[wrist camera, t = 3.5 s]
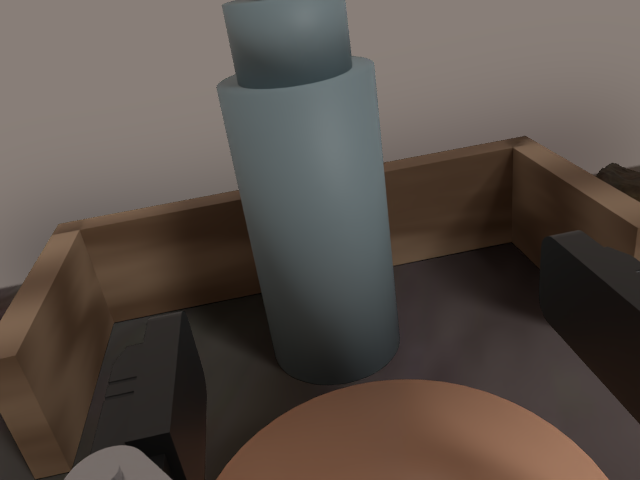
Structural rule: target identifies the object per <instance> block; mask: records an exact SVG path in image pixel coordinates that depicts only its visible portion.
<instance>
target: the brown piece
mask: <svg viewBox="0 0 640 480" xmlns="http://www.w3.org/2000/svg"><path fill="white" fill-rule="evenodd" d="M596 177H597V178H599V179H600V180H602V181H604V182H606V183H607V184H609V185H611V186H613V187H614V188H616V189H618V190H619V191H621V192H623V193H625V194H626V195H628V196H630V197H631V198H633V199H635V200H637V201H638V202H640V173H639V172H635V171H632V170H629V169H626V168H625V167H621V166H619V165H618V164H616V163H615V164H614V163H611V164H609V165H608V166H606V167H605V168H602V169H601V170H600V171H599V173H598V174H597V176H596Z"/></svg>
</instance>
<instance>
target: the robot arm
mask: <svg viewBox="0 0 640 480" xmlns="http://www.w3.org/2000/svg"><path fill="white" fill-rule="evenodd" d="M539 301H540V306H541V309H542V312H543V315H544V317H545V319H546V320H547V322H548V323H549V324H550V325H551V326H552V327H553V329H554V330H555V331H556V332H557V333H558V334H559V335H560V336H561V337H562V338H563V340H564V341H565V342H566V343H567V344H568V345H569V346H570V347H571V348H572V350H573V351H574V352H575V353H576V354H577V355H578V356H579V357H580V358H581V359H582V361H583V362H584V363H585V364H586V365H587V366H588V367H589V368H590V369H591V371H592V372H593V373H594V374H595V375H596V376H597V377H598V378H599V379H600V381H601V382H602V383H603V384H604V385H605V386H606V387H607V388H608V389H609V390H610V392H611V393H612V394H613V395H614V396H615V397H616V398H617V399H618V400H619V402H620V403H621V404H622V405H623V406H624V407H625V408H626V409H627V410H628V411H629V413H630V414H631V415H632V416H633V417H634V418H635V419H636V420H637V421H638V423H639V424H640V261H638V260H637V259H636V258H634V257H633V256H632V255H629V254H626V253H624V252H621V251H618V250H616V249H613V248H611V247H608V246H607V247H603V246H602V245H600V244H599V243H598V242H596V241H595V240H594V239H592V238H591V237H590V236H588V235H587V234H586V233H584V232H583V231H580V230H576V231H571V232H566V233H561V234H557V235H552V236H547V237H545V238H544V239H543V241H542V244H541V259H540V283H539ZM206 401H207V394H206V383H205V377H204V372H203V368H202V365H201V361H200V358H199V355H198V351H197V348H196V345H195V341H194V338H193V335H192V331H191V328H190V325H189V321H188V318H187V316H186V313H185V312H184V311H180V312H175V313H170V314H165V315H160V316H156V317H151V318H148V321H147V326H146V331H145V336H144V342H143V343H140V344H136V345H131V346H127V347H126V348H125V350H124V351H123V352H122V353H121V355H120V356H119V357H118V359H117V360H116V361H115V362H114V364H113V367H112V371H111V374H110V378H109V386H107V390H106V394H105V401H104V402H103V406H102V410H101V414H100V418H99V422H98V426H97V430H96V434H95V437H94V441H93V445H92V449H91V453H90V455H89V456H88V457H86V458H84V459H83V460H82V461H81V462H79V463H78V464H77V465H76V466H75V467H74V468H73V469H72V470H71V471H70V472H69V473H68V475H67V476H66V478H65V479H64V480H205V444H206Z"/></svg>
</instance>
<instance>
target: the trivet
mask: <svg viewBox="0 0 640 480" xmlns="http://www.w3.org/2000/svg"><path fill="white" fill-rule="evenodd" d="M216 480H609V479H608V478H607V477H606V476H605V474H604V473H603V472H602V471H601V470H600V468H599V467H598V466H597V465H596V464H595V463H594V461H593V460H592V459H591V458H590V457H589V456H588V455H587V454H586V453H585V452H584V451H583V450H582V449H581V448H580V447H578V446H577V445H576V444H575V443H574V442H573V441H572V440H571V439H570V438H568V437H567V436H566V435H564V434H563V433H562V432H561V431H559V430H558V429H557V428H555V427H554V426H553V425H551V424H550V423H548V422H547V421H545V420H543V419H542V418H540V417H539V416H537V415H535V414H534V413H532V412H531V411H529V410H527V409H525V408H523V407H521V406H519V405H517V404H515V403H513V402H511V401H508V400H506V399H503V398H501V397H498V396H495V395H493V394H490V393H488V392H485V391H481V390H477V389H474V388H470V387H467V386H463V385H457V384H452V383H447V382H441V381H430V380H416V379H397V380H384V381H375V382H369V383H363V384H357V385H353V386H349V387H345V388H342V389H338V390H334V391H332V392H329V393H326V394H323V395H321V396H318V397H315V398H313V399H311V400H309V401H307V402H305V403H303V404H300V405H298V406H296V407H294V408H293V409H291V410H289V411H288V412H286V413H284V414H283V415H281V416H279V417H278V418H276V419H275V420H274V421H272V422H271V423H270V424H268V425H267V426H266V427H264V428H263V429H262V430H260V431H259V432H258V433H257V434H256V435H254V436H253V437H252V438H251V439H250V440H249V441H248V442H247V443H246V444H245V445H244V446H243V447H242V448H241V449H240V450H239V451H238V452H237V453H236V454H235V456H234V457H233V458H232V459H231V460H230V461H229V462H228V464H227V465H226V466H225V468H224V469H223V471H222V472H221V473H220V475H219V476H218V478H217V479H216Z"/></svg>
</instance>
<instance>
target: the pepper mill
mask: <svg viewBox="0 0 640 480" xmlns="http://www.w3.org/2000/svg"><path fill="white" fill-rule="evenodd" d="M222 8H223V13H224V18H225V23H226V28H227V33H228V38H229V43H230V48H231V53H232V58H233V62H234V67H235V72H236V74H235V75H233V76H231V77H228V78H226V79H224V80H223V81H221V82H220V83H219V84H218V85H217V87H216V88H217V92H218V97H219V101H220V106H221V110H222V115H223V119H224V124H225V129H226V133H227V138H228V142H229V147H230V151H231V156H232V161H233V165H234V170H235V174H236V179H237V183H238V188H239V192H240V197H241V202H242V206H243V211H244V215H245V220H246V224H247V229H248V233H249V238H250V243H251V247H252V252H253V256H254V261H255V265H256V270H257V274H258V279H259V284H260V288H261V293H262V297H263V302H264V306H265V311H266V315H267V320H268V325H269V329H270V334H271V338H272V343H273V347H274V352H275V356H276V360H277V362H278V364H279V365H280V367H281V368H282V369H283V370H284V371H285V372H286V373H287V374H289V375H291V376H292V377H294V378H296V379H298V380H301V381H304V382H308V383H313V384H321V385H334V384H343V383H349V382H353V381H357V380H360V379H363V378H365V377H368V376H370V375H372V374H374V373H375V372H377V371H379V370H380V369H382V368H383V367H384V366H385V365H387V364H388V363H389V362H390V361H391V359H392V358H393V357H394V355H395V354H396V352H397V350H398V347H399V341H400V336H399V326H398V315H397V304H396V293H395V283H394V272H393V261H392V251H391V240H390V229H389V218H388V208H387V197H386V186H385V175H384V165H383V154H382V143H381V133H380V122H379V111H378V100H377V91H376V79H375V69H374V62H373V61H372V60H370V59H367V58H363V57H356V56H351V49H350V39H349V30H348V22H347V12H346V3H345V0H235V1H231V2H228V3H225V4H223V5H222Z"/></svg>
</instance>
